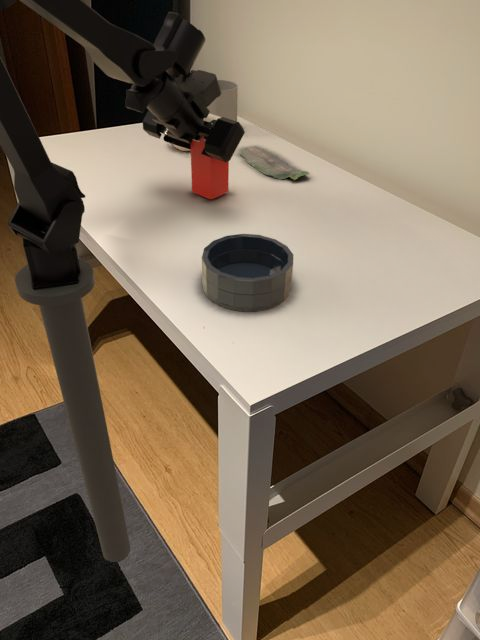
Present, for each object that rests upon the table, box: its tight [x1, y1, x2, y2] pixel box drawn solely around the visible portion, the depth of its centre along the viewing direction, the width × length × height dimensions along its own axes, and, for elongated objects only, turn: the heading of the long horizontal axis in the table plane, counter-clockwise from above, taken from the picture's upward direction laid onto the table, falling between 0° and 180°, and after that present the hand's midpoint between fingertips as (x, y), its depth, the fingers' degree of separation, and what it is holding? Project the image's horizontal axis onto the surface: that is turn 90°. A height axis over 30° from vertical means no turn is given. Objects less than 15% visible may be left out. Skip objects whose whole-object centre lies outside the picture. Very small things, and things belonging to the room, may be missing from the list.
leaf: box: [239, 146, 311, 181], centre depth 115 cm, size 20×8×1 cm, turn 32°
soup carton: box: [190, 114, 230, 200], centre depth 98 cm, size 5×5×13 cm
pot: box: [201, 233, 294, 313], centre depth 78 cm, size 13×13×5 cm
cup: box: [207, 79, 239, 122], centre depth 126 cm, size 8×8×10 cm
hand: (215, 154), depth 99 cm, fingers closed on soup carton, 5 cm apart
